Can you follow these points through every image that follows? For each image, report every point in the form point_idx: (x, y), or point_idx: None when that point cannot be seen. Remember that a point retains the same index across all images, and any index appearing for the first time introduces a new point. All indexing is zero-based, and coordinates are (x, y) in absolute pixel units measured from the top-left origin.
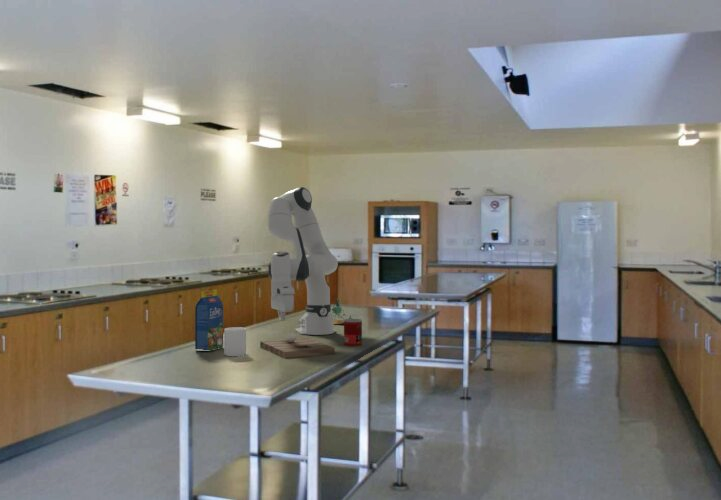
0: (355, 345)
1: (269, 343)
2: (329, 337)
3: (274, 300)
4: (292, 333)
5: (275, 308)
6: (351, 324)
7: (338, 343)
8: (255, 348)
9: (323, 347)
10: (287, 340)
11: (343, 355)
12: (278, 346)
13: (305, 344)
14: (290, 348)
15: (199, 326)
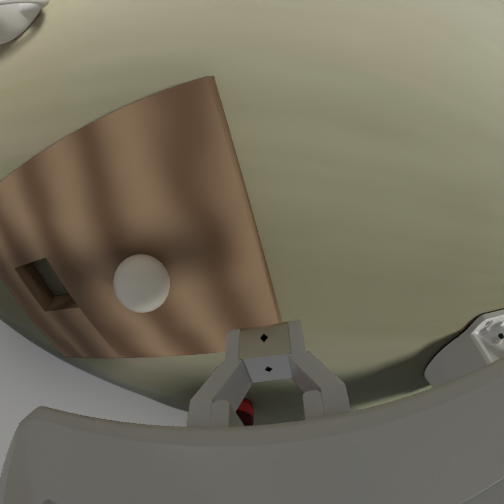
0: None
1: (112, 141)
2: (382, 378)
3: (463, 501)
4: (128, 307)
5: (384, 416)
6: None
7: (257, 388)
8: (177, 47)
9: (56, 336)
10: (134, 255)
11: (57, 349)
12: (32, 193)
13: (98, 308)
14: (8, 240)
15: None
